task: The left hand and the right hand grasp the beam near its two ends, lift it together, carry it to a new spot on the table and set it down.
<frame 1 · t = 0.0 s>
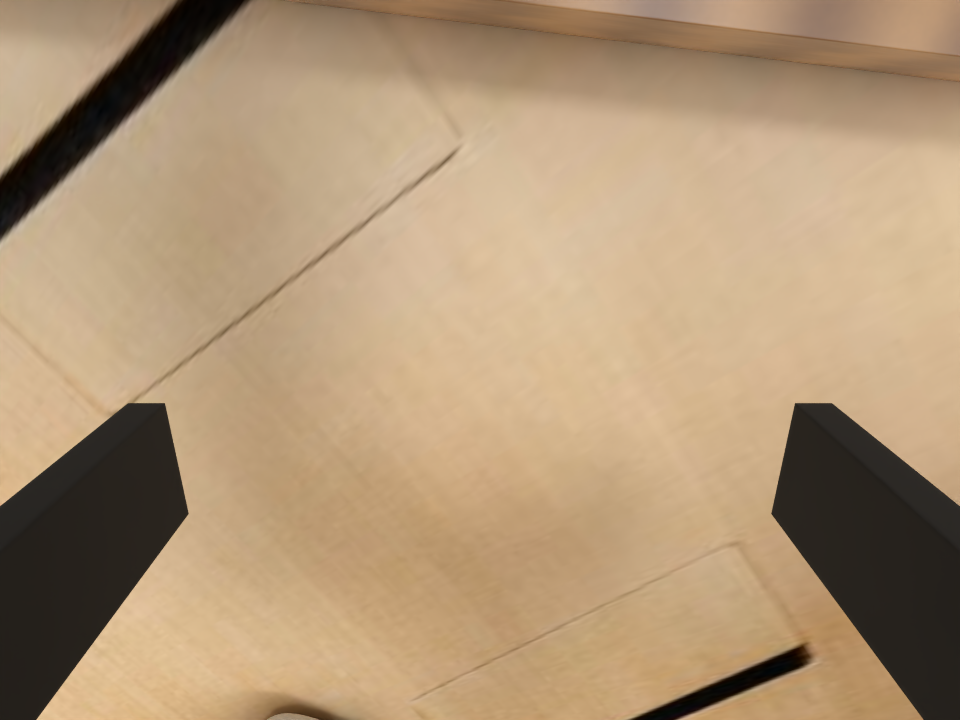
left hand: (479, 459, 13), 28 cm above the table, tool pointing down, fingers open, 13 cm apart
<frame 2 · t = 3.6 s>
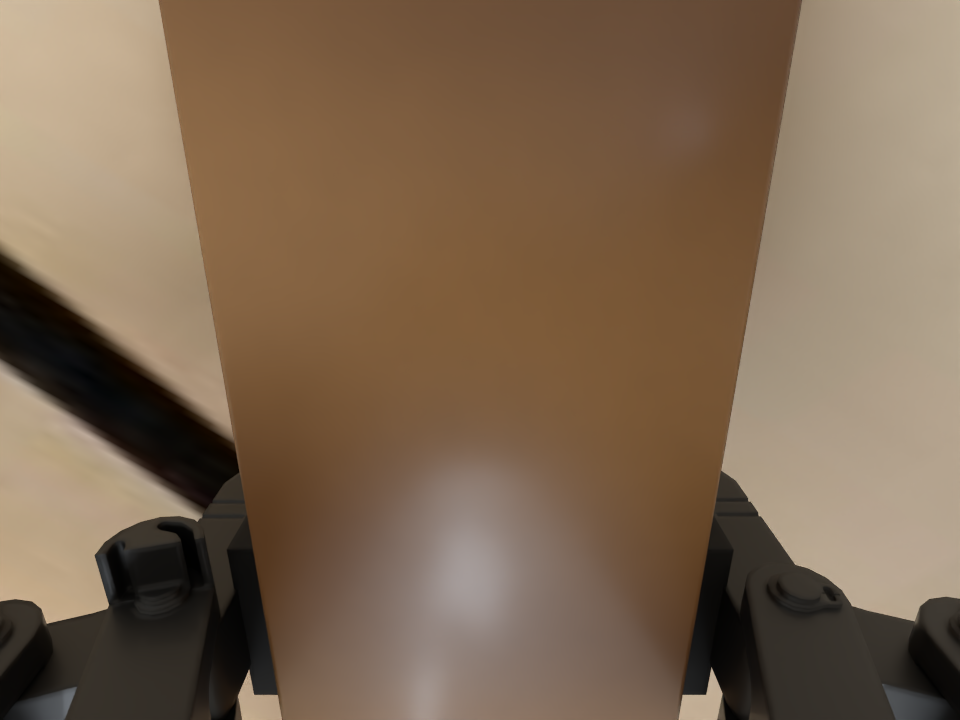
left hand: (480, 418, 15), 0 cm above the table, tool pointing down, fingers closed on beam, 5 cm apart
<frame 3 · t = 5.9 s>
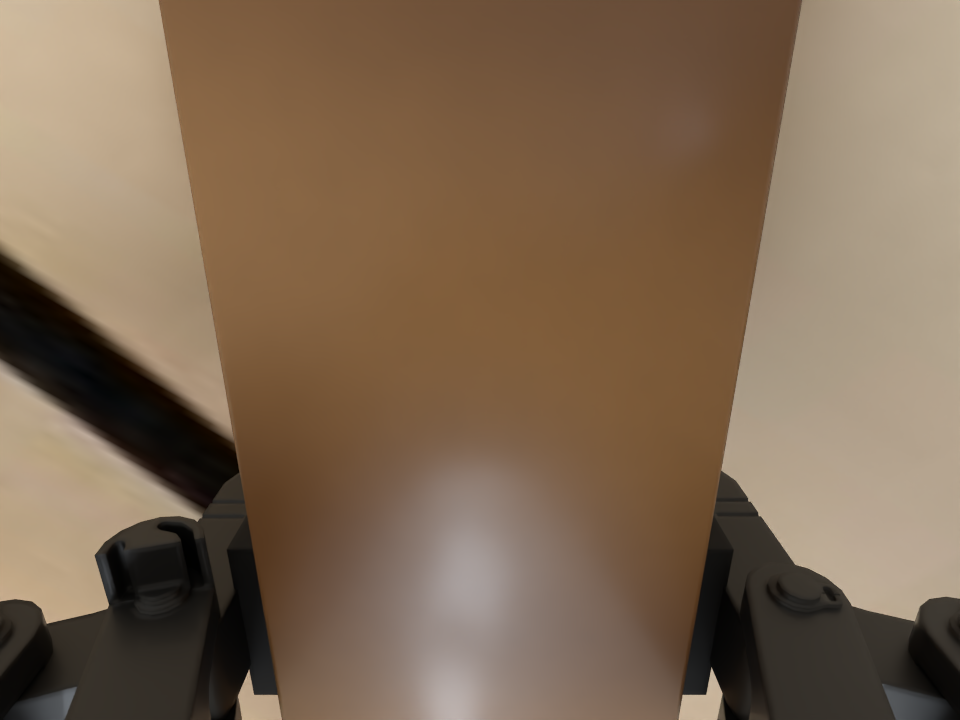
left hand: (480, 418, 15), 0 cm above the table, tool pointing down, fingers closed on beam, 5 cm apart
when the left hand's fingers open (1 cm above the table, at t = 11.5 s): beam stays where it is, on the table.
when the right hand's fingers open (3 cm above the table, at t = 11.7 s): beam stays where it is, on the table.
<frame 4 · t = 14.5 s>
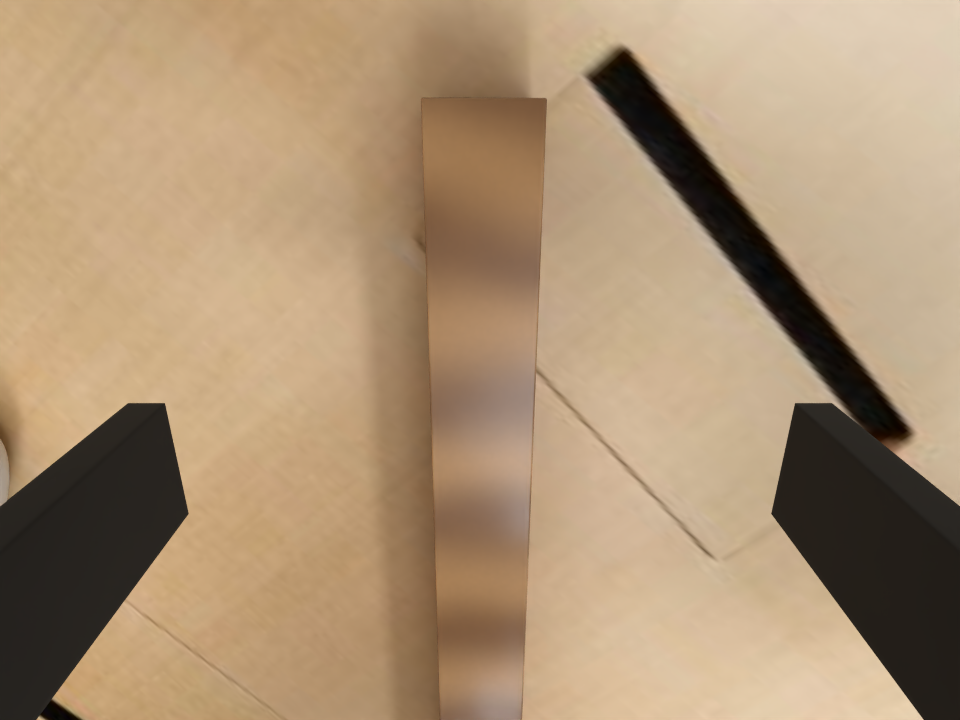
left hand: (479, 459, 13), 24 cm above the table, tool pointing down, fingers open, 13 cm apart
beam: (481, 547, 44), on the table
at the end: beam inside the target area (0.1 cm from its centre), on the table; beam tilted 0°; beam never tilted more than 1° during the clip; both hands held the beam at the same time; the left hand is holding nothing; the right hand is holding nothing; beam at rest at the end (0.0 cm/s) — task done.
